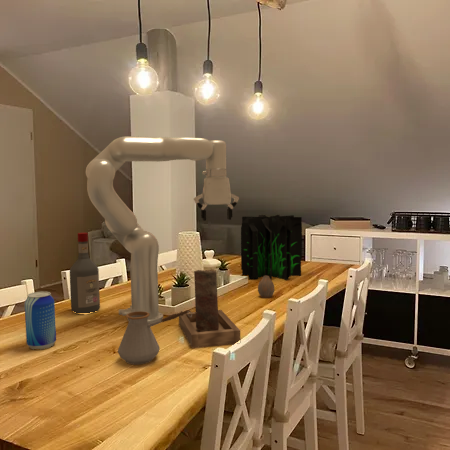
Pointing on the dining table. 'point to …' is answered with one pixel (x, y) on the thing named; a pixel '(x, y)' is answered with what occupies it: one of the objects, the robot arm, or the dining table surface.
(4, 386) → the dining table surface
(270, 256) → the black pleated panel block
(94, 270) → the liquor
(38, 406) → the dining table surface
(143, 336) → the coffee pot
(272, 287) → the brown egg
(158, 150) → the robot arm
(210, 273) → the dark brown block
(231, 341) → the wooden tray
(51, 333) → the beer can
